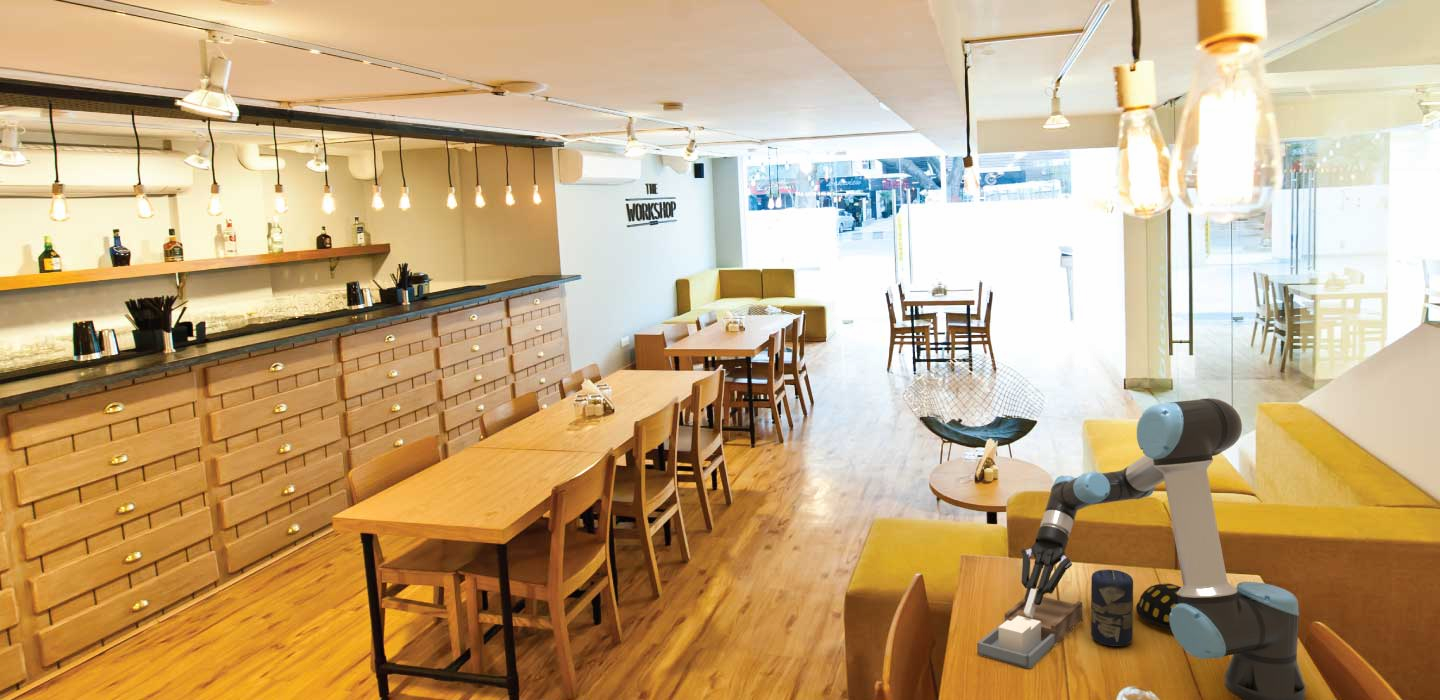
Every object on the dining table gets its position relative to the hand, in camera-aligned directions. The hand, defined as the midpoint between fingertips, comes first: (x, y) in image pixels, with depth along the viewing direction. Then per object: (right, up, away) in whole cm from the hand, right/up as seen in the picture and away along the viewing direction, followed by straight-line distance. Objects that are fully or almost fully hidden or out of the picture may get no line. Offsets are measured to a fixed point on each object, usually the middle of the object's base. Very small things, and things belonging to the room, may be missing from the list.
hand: (1028, 614), depth 232 cm
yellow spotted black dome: (+39, -4, +7) cm, 40 cm away
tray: (-4, -7, -4) cm, 10 cm away
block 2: (-1, -6, -1) cm, 7 cm away
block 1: (-4, -4, -4) cm, 7 cm away
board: (+7, -5, +8) cm, 12 cm away
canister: (+20, -6, -2) cm, 21 cm away
